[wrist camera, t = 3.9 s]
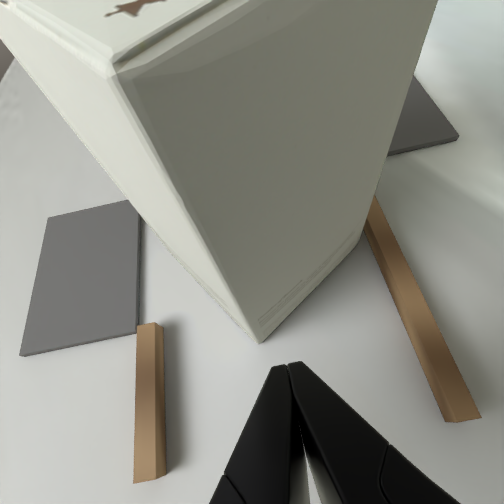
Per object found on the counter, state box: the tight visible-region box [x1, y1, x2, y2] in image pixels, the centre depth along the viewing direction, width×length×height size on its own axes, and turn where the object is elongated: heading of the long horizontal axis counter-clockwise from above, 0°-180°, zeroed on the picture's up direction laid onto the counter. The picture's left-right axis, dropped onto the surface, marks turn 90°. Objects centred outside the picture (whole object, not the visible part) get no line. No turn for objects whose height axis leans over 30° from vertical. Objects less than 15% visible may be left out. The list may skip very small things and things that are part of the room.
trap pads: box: [19, 75, 459, 357], centre depth 22 cm, size 19×30×1 cm, turn 100°
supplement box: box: [0, 0, 438, 344], centre depth 13 cm, size 9×9×15 cm
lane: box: [133, 195, 482, 484], centre depth 20 cm, size 30×15×3 cm, turn 10°
